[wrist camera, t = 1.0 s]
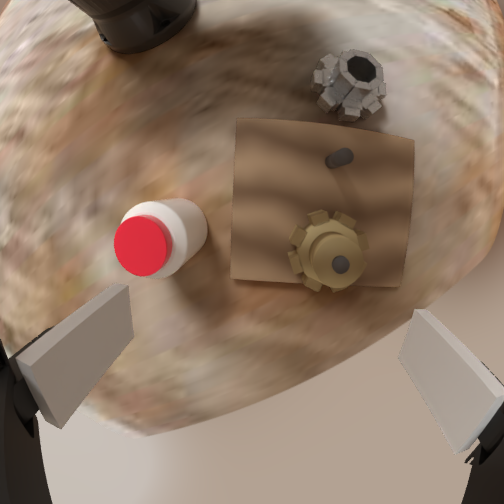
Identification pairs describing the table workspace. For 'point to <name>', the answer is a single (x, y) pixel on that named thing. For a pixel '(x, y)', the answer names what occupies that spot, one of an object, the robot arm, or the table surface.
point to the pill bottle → (160, 237)
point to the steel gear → (349, 84)
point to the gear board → (320, 204)
